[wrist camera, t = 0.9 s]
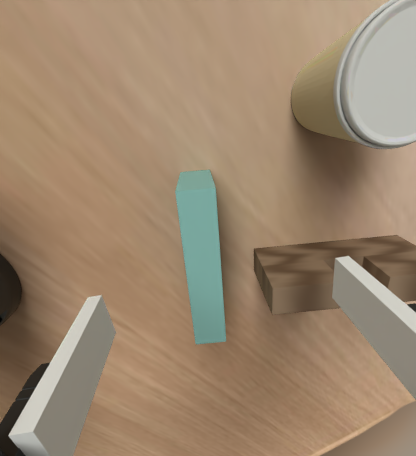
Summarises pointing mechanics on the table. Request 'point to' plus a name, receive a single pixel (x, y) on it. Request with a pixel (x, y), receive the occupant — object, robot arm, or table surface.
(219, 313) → the teal rectangular block
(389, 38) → the coffee cup
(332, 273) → the walnut rail
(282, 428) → the table surface
